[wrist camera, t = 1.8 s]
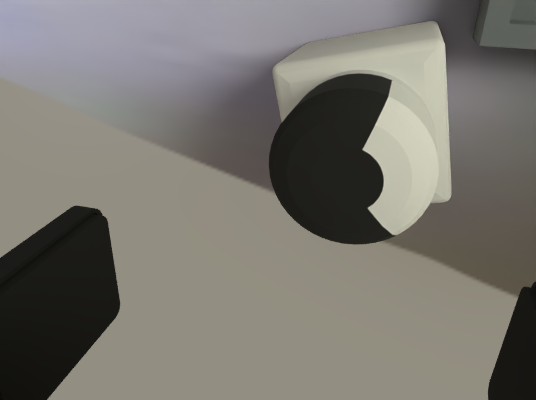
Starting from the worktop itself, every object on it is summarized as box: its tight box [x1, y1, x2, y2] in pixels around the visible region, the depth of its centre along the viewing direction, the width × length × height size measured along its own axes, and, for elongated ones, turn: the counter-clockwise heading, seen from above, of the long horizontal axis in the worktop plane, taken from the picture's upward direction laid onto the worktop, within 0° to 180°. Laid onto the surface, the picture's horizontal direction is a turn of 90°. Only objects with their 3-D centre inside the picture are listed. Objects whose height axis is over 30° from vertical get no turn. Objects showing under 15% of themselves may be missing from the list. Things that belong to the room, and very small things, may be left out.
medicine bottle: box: [269, 21, 452, 244], centre depth 21 cm, size 7×7×12 cm
